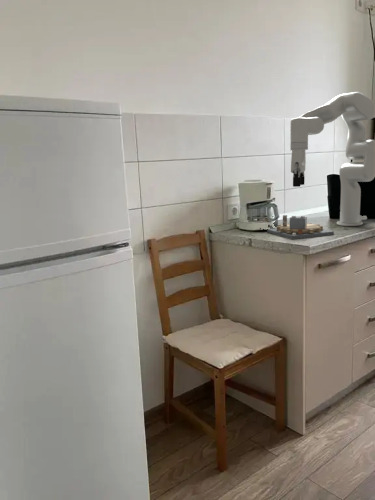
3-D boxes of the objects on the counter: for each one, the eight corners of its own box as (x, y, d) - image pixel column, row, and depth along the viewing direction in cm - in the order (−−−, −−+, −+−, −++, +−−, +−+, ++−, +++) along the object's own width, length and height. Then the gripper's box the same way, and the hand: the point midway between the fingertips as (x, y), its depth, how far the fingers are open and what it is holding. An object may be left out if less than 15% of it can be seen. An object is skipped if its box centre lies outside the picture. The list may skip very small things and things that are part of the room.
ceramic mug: (256, 230, 218) (256, 215, 216) (265, 227, 223) (265, 213, 222) (274, 232, 210) (274, 216, 209) (283, 230, 216) (283, 214, 215)
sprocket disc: (272, 227, 213) (272, 214, 212) (313, 225, 214) (314, 212, 213) (283, 234, 193) (283, 219, 192) (329, 232, 194) (329, 217, 193)
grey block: (291, 227, 202) (291, 215, 200) (306, 227, 199) (307, 215, 198) (289, 228, 198) (289, 216, 197) (305, 229, 195) (305, 216, 194)
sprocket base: (305, 228, 218) (305, 223, 217) (333, 234, 198) (333, 229, 197) (267, 232, 211) (267, 227, 210) (292, 239, 190) (292, 234, 190)
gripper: (294, 147, 200) (294, 184, 203) (286, 147, 185) (286, 187, 188) (311, 146, 197) (310, 184, 200) (304, 146, 181) (303, 187, 185)
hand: (298, 185), depth 194 cm, fingers open, 9 cm apart
